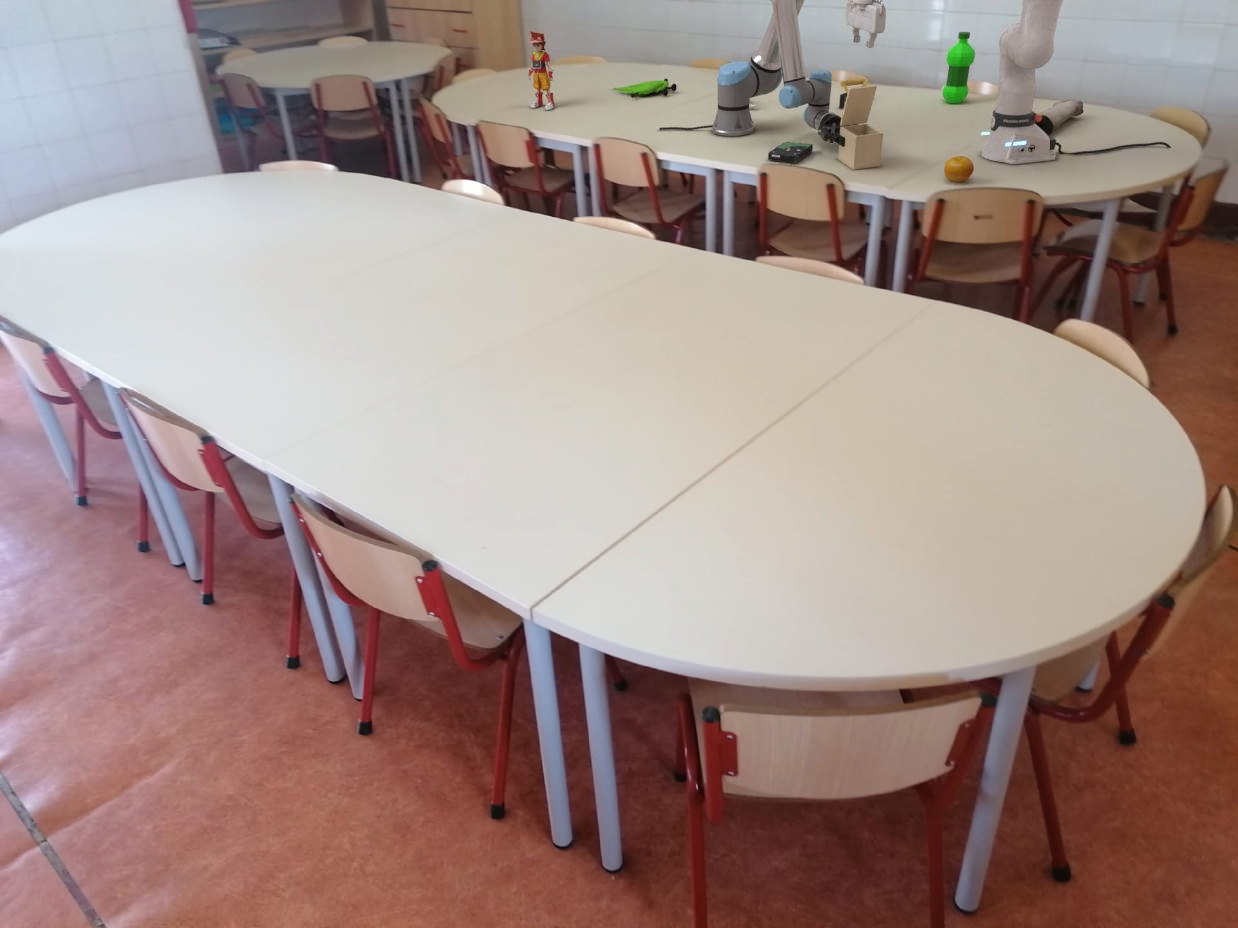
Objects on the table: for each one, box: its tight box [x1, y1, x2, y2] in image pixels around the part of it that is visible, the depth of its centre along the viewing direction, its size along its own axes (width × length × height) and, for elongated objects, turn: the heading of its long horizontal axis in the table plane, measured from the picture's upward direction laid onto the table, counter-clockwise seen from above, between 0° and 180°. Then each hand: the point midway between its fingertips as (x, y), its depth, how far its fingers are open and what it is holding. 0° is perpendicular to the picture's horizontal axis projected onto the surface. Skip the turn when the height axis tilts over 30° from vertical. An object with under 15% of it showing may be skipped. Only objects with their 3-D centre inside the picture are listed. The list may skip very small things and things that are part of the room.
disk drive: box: [767, 141, 814, 164], centre depth 306 cm, size 10×3×15 cm
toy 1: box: [527, 31, 556, 111], centre depth 374 cm, size 12×9×30 cm
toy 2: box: [612, 78, 677, 99], centre depth 396 cm, size 28×5×30 cm
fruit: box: [943, 155, 975, 183], centre depth 275 cm, size 8×8×8 cm
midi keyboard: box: [838, 92, 847, 109], centre depth 359 cm, size 18×1×5 cm, turn 138°
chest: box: [837, 123, 884, 171], centre depth 294 cm, size 13×9×10 cm
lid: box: [839, 78, 878, 126], centre depth 293 cm, size 13×9×9 cm
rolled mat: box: [1035, 99, 1084, 136], centre depth 319 cm, size 30×9×10 cm
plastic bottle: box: [942, 31, 976, 104], centre depth 348 cm, size 10×10×25 cm
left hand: (858, 140), depth 295 cm, fingers closed on chest, 9 cm apart
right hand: (863, 45), depth 281 cm, fingers open, 8 cm apart
